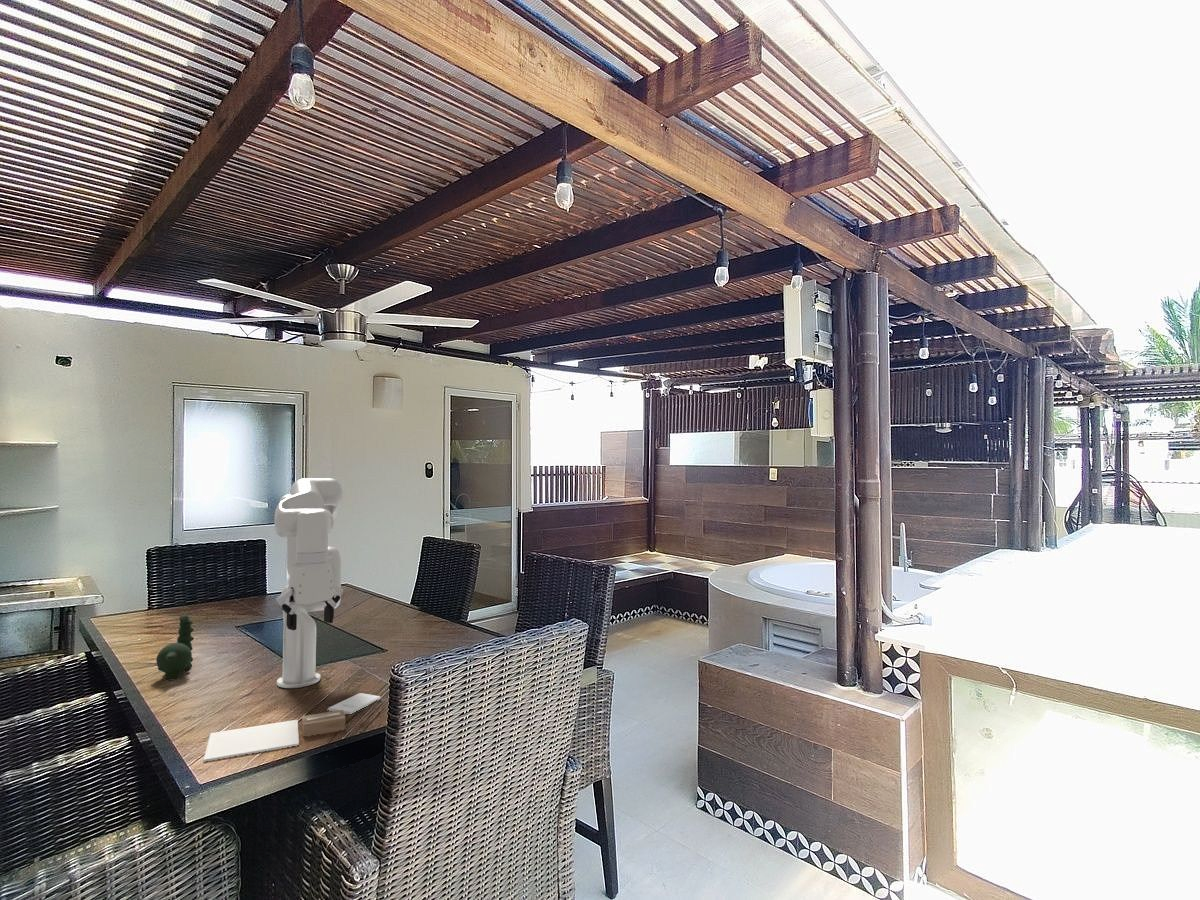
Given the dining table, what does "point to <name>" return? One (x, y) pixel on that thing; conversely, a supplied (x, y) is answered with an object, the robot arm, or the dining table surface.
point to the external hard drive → (354, 703)
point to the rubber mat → (252, 740)
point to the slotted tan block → (323, 723)
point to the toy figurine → (177, 652)
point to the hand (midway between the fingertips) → (310, 625)
